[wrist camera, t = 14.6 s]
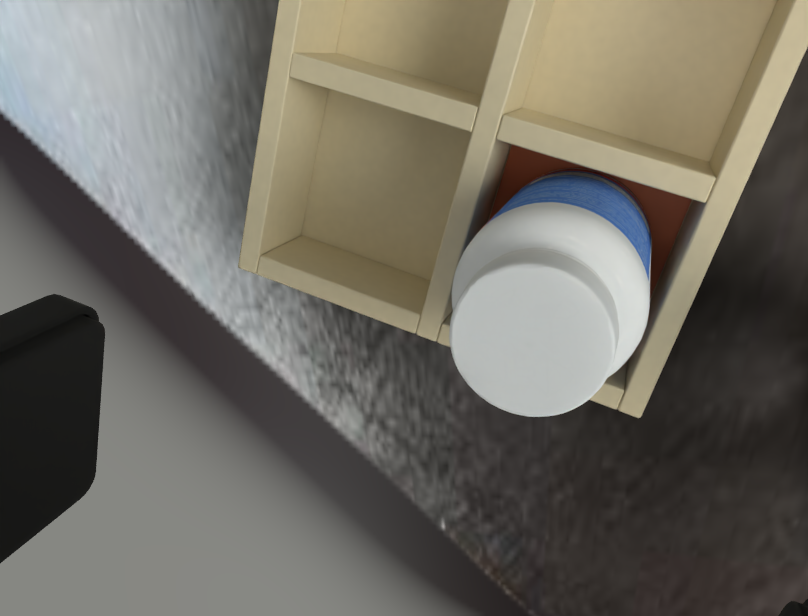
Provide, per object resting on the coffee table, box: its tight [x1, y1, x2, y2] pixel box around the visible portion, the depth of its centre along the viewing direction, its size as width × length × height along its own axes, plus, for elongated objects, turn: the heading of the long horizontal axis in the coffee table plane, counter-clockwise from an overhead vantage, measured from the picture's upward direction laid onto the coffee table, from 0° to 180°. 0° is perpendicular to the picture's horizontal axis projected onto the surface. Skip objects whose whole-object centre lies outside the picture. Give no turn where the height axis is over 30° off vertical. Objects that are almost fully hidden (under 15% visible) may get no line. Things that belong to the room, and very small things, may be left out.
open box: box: [238, 0, 808, 418], centre depth 24 cm, size 15×15×4 cm
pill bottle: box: [449, 168, 652, 417], centre depth 21 cm, size 6×5×10 cm
